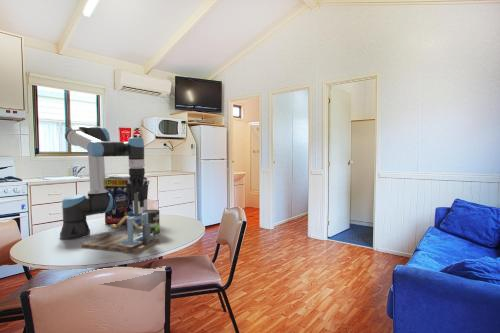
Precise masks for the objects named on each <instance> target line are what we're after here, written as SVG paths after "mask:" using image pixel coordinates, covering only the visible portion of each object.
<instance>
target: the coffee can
mask: <svg viewBox="0 0 500 333" xmlns="http://www.w3.org/2000/svg"><path fill="white" fill-rule="evenodd" d="M143 213H148V224H150V234H154V237H153V238H155V237H157V236H160V234H161V233H160V230H161V229H160V227H161V226H160V224H161V223H160V209H147V210H144V211H143ZM141 222H142V224H141V226H142V225H143V218H141Z"/></svg>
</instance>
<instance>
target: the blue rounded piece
mask: <svg viewBox="0 0 500 333" xmlns="http://www.w3.org/2000/svg"><path fill="white" fill-rule="evenodd" d="M127 216H130V217H133V216H134V213H133V212H132V211H130V212H129V215H127ZM134 221H135V222H136V223H137V224H138V226H139V227H140V226H141V225H140V222H141V218H140V219H137V220H134ZM125 225H127V221H126V224H125ZM135 229H137V228H136V227H135V226H134V225H133V230H135Z"/></svg>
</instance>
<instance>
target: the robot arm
mask: <svg viewBox="0 0 500 333" xmlns="http://www.w3.org/2000/svg"><path fill="white" fill-rule="evenodd" d="M64 138H65V141H66V142H67V143H68V144H69V145H72V146H75V147H80V148H82V149H84V150H86V152H87V155H88V157H87V159H88V172H89V173H88V175H89V191H88V192H87V195H86V194H84V193H82V194H81V193H80V194H74V195H70V196H67V197H64V198H63V199H62V204H61V208H62V223H63V224H62V225H61V226H62V227H61V230H60V233H59V238H60V239H62V240H74V239H76V240H77V239H79V238H80V239H81V238H84V237H85V238H86V237H87V236H89V235H90V234H91V229H90V227H89V224H88V222H87V216H93V215H99V214H101V215H102V214H105V213H106V212H109V211H110V210H111V208H112V206H113V198H112V195H111V194H109V191H108V190H106V183H105V178H106V169H105V168H106V165H105V157H128V167H129V168H128V175H129V177H130V178H129V180H126V181H125V183H126V187H127V195H128V199H130V200H131V201H132V207H133V213H134V193H136V192H137V188H138V194H139V200H138V214H141V213H143V207H144V200H146V199H147V200H148V194H149V184H150V180H148V179H147V180H145V178H146V177H145V174H146V172H145V171H146V170H145V166H146V164H145V142H144V141H145V140H144V138H143V137H129V138H128V140H127V141H111V137H110V133H109V130H108V129H107V128H105V127H103V126H98V125H97V126H93V125H73V126H71V127H69V128H68V129H67V130H66V131H65V134H64ZM143 182H144V183H143ZM131 183H132V184H131ZM143 184H144V185H143Z"/></svg>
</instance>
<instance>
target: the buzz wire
mask: <svg viewBox="0 0 500 333" xmlns="http://www.w3.org/2000/svg"><path fill="white" fill-rule="evenodd" d="M128 218H131V217H130V216H124V217H123V218H122V220H121V221H120V222H119V223H118V224H109V227H110V228H112V229H119V228H120V227H121V225H123V224H122V223H123V222H124V221H125V220H126V219H128ZM133 225H134V226H135V227H136V228H135V229H136V230H138V231H141V233H142V234H143V245H148V244H150V243H151V241H150V224H145V225H142V224H141V226H140V225H139V226H138V224H137V223H136V222H135V221H133Z"/></svg>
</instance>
